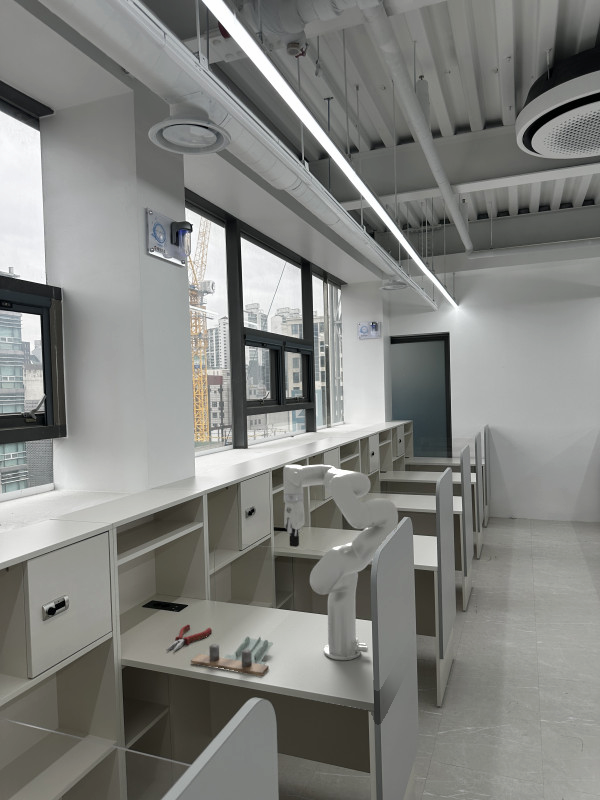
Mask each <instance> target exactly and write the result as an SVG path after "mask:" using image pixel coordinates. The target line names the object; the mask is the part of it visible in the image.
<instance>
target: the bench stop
mask: <svg viewBox="0 0 600 800" xmlns="http://www.w3.org/2000/svg"><path fill="white" fill-rule="evenodd" d="M208 648H209V655H208V654H207V655H206V654H201V653H199V654H197V655H196V656H194V657H193V658H192V659H190V664H191V663H193V664H192V665H195V664H199V665H198V666H200V665H205V666H204V667H206V666H211V667H218V668H224V669H229V670H234V671H238V672H237V673H240V672H242V673H241V674H245V673H247V675H252V676H258V677H263V676H264V675H265V674H266V673H267V672H268V670H269V669H270V668H269V665H267V664H265V665H262V664H256V663H252V662H253V661H252V652H251V650H249V649H245V650H242V661H238V660H232V659H226V658H225V657H220V645H219V644H217V643H213V644H210V645H209V647H208ZM211 667H210V668H211ZM234 671H233V672H234Z"/></svg>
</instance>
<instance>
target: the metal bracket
mask: <svg viewBox="0 0 600 800" xmlns="http://www.w3.org/2000/svg"><path fill="white" fill-rule="evenodd" d="M273 645H274V642H271V641H268V639H265V640H261V636H259V637H258V638H257V639H256V638H250V636H246V637H245V638H244V640H242V642H241V644H239V646H238V648H236V649H235V651H234V653H233V654H226V655H225V656H224V658H226V659H232V660H238V661H242V650H245V649H249V650H251V652H252V663H256V664H262V665H267V664H266V662H265V661H263V659H264V658H265V656H266V655H267V653H268V652H269V650H270V649H271V647H272V646H273Z"/></svg>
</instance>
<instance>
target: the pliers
mask: <svg viewBox="0 0 600 800" xmlns="http://www.w3.org/2000/svg"><path fill="white" fill-rule="evenodd" d="M190 629H191V625H190V624H186V625H184V626H183V627H181V629H180V630H179V633H178V636H175V639H174V642H173V643H172V644H171V645H170V646H169V647H167V648H166V651H170V650H172V652H176V651H177V650H180V648H182V647H183V646H184V645H187V646H189V645H190V643H193V641H194V642H196V640H197V641H200V640H202V639H201V638H203V639H205V638H207V637H209V636H210V635H211V634H212V632H213V631H212V628H211V627H207V628H206V629H205V630H204V631H202V632H197V633H195V634H191V635H188V636H184V634H185V633H186V632H188V631H189V630H190ZM210 633H211V634H210ZM209 634H210V635H209ZM208 635H209V636H208ZM206 636H207V637H206ZM204 637H205V638H204ZM199 639H200V640H199Z"/></svg>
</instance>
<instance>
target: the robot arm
mask: <svg viewBox="0 0 600 800" xmlns="http://www.w3.org/2000/svg"><path fill="white" fill-rule="evenodd" d="M282 477H283V503H285V504H284V512H283V514H284V518H283V519H284V520H283V523H284V528H285V529H286V530H287V532H286V533H288V536H289V546H290V547H296V548H297V547H299V546H300V529H301V527H303V526H305V523H306V519H305V518H306V516H305V507H304V506H305V505H304V488H306V487H313V486H321V485H322V486H324V488H325V490H326V491H327V492H329V494H330V496H331V497H332V500H333V502H334V503H335V505H336V506H337V508H338V509H339V511H340V513H341V514H342V515H343V516H344V519H345V520H346V521H347V523H348V524H349V525H350V526H351V527H352V528H354V529H357V530H362V531H360V532H359V534H358V535H357V536H356V537H355V538H354V539H353V540H352V541H351V542H349V543H345V544H342V545H339V546H338V545H337V546H334V547H332V548H330V549H329V550H328V551H326V552H325V553H324V554H323V556H322V557H321V558H320V560H319V561H318V562H317V563H316V564H315V565H314V567H313V568H312V570H311V572H310V575H309V584H310V587H311V589H312V590H313V592H314V593H316V594H318V595H321V596H322V595H328V597H327V626H328V627H327V635H328V636H327V637H328V638H327V639H328V643H327V644H326V645H324V647H323V653H324V655H325V656H326V657H328V658H330V659H332V660H335V661H336V660H337V661H350V660H353V659H356V658H359V656H360V655H361V654H362V653H368V652H369V647H368V646H367V643H364V642H363V643H362V642H361V643H360V641H359V637H357V636H356V634H357V633H356V632H357V631H356V626H357V624H356V620H357V619H356V593H357V592H356V591H357V585H358V584H357V583H358V579H359V573H358V572H361V571H363V570H364V569H365V568H366V567H367V566H368V565H370V563H371V562H372V560H373V559H374V558H375V557H374V554H375V552H376V550H377V549H378V547H379V546H380V545H381V544H382V542H383V541H384V540H385V539H386V537H387V536H388V535H389V534H390V533H391V532H392V531H393V530H394V529H395V528H396V529H395V530H396V531H397V528H398V524H399V512H398V508H397V507H396V504H395V503H394V502H393V501H391V500H390V499H389V498H388V499H387V498H383V497H381V498H380V497H379V498H372V499H366V500H365V499H364V500H360V499H359V498H362V497H364V496H366V495H367V494H368V493H369V492H370V490H371V483H372V482H371V481H370V478H369V477H368V476H367V475H366V474H364V473H362V472H359V471H354V470H348V469H347V470H345V469H339V468H336V467H335V466H332V465H327V464H326V465H324V464H312V465H311V464H310V465H303V466H302V465H300V464H286V465H285V466H283V476H282ZM395 530H394V531H395ZM396 531H395V532H396ZM373 557H374V558H373Z"/></svg>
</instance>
